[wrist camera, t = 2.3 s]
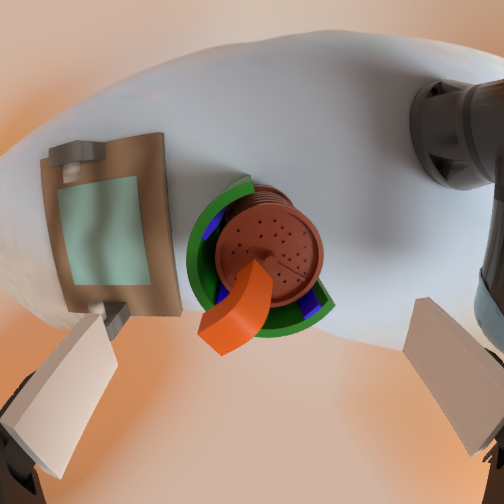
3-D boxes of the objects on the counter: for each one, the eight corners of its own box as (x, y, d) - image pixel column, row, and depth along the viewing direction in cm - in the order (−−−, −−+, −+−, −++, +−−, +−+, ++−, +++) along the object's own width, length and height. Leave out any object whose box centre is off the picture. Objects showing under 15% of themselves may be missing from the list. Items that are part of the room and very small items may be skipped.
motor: (315, 222, 32) (397, 305, 13) (264, 277, 34) (278, 406, 15) (248, 163, 30) (243, 160, 11) (197, 223, 32) (127, 310, 13)
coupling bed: (163, 133, 28) (138, 125, 21) (182, 310, 35) (168, 344, 28) (46, 159, 29) (10, 163, 21) (73, 307, 35) (47, 332, 28)
